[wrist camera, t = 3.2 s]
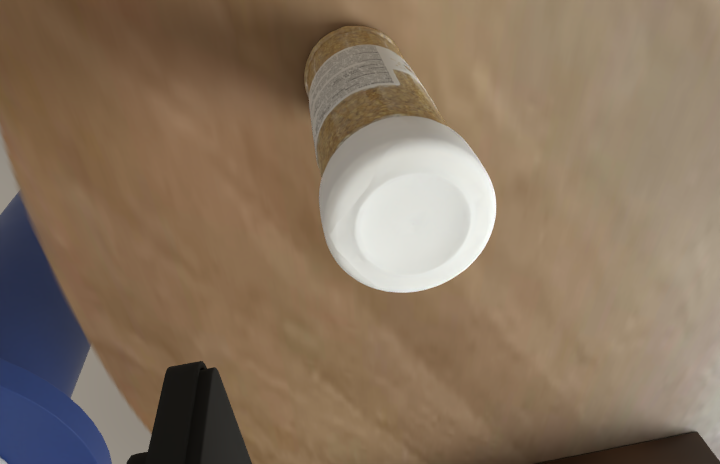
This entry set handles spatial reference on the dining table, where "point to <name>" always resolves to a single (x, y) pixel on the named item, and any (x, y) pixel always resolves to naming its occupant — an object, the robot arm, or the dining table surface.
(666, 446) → the shelf
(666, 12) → the dining table surface
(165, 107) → the dining table surface
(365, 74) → the sprinkles bottle
